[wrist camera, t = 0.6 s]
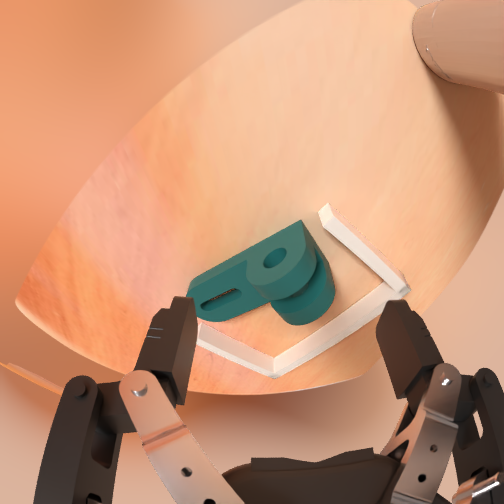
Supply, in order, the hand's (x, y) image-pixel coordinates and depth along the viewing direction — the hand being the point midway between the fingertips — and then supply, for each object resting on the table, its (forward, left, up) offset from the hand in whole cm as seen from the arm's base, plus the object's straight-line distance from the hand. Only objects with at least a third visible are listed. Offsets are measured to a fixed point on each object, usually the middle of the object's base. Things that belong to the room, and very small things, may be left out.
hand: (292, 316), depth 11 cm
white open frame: (+12, +14, -19) cm, 26 cm away
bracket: (+12, +6, -19) cm, 24 cm away
